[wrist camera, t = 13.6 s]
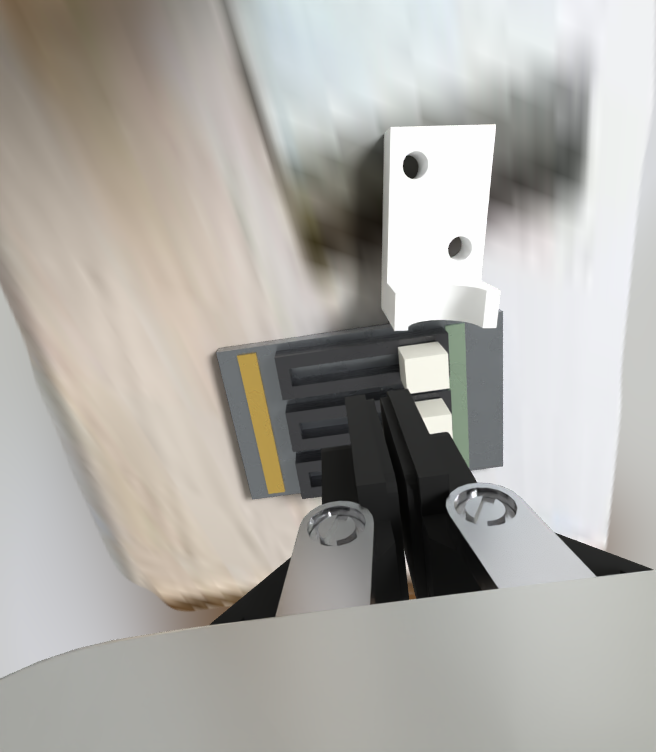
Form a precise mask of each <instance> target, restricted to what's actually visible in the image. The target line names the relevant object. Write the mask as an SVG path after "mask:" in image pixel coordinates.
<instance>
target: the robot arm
mask: <svg viewBox="0 0 656 752" xmlns="http://www.w3.org/2000/svg"><path fill="white" fill-rule="evenodd" d="M345 405H346V412H347V420H348V427H349V435H350V442H351V445H345V446H338V447H331V448H323V449H321V463H322V505H320V506H318V507H316V508H315V509H313V510H311V511H310V512H309V513H308V514H307V515H306V516H305V517H304V518H303V520H302V522H301V524H300V527H299V530H298V534H297V538H296V542H295V545H294V549H293V553H292V556H291V558H289V559H288V560H287V561H286V562H285V563H283V564H282V565H281V566H280V567H278V568H277V569H276V570H275V571H274V572H272V573H271V574H270V575H269V576H268V577H266V578H265V579H264V580H263V581H262V582H260V583H259V584H258V585H257V586H256V587H254V588H253V589H252V590H251V591H250V592H248V593H247V594H246V595H245V596H243V597H242V598H241V599H240V600H239V601H237V602H236V603H235V604H234V605H233V606H231V607H230V608H229V609H228V610H227V611H225V612H224V613H223V614H222V615H221V616H219V617H218V618H217V619H216V620H214V621H213V622H212V623H211V624H210V625H209V626H201V627H194V628H186V629H179V630H173V631H166V632H160V633H154V634H148V635H142V636H136V637H130V638H123V639H117V640H111V641H107V642H104V643H99V644H95V645H91V646H86V647H82V648H78V649H75V650H72V651H69V652H66V653H63V654H60V655H57V656H54V657H51V658H48V659H45V660H42V661H39V662H37V663H34V664H33V665H30V666H28V667H25V668H23V669H21V670H19V671H16V672H14V673H12V674H9V675H7V676H5V677H3V678H0V752H656V570H653V569H650V568H648V567H645V566H643V565H640V564H637V563H635V562H632V561H629V560H627V559H624V558H621V557H619V556H616V555H613V554H611V553H608V552H605V551H603V550H600V549H597V548H595V547H592V546H589V545H586V544H584V543H581V542H578V541H576V540H573V539H570V538H568V537H565V536H562V535H560V534H557V533H554V532H553V531H552V530H551V529H550V527H549V526H548V525H547V524H546V523H545V522H544V521H543V520H542V519H541V518H540V517H539V516H538V515H537V514H536V513H535V512H534V511H533V510H532V509H531V508H530V507H529V505H528V504H527V503H526V502H525V501H524V500H523V499H522V498H521V497H520V496H518V495H517V494H516V493H515V492H513V491H512V490H510V489H507V488H505V487H503V486H500V485H495V484H491V483H477V482H476V480H475V478H474V476H473V475H472V473H471V471H470V469H469V467H468V466H467V464H466V462H465V460H464V458H463V457H462V455H461V453H460V451H459V450H458V448H457V446H456V444H455V442H454V441H453V439H452V437H451V435H450V434H449V433H448V432H441V433H434V434H429V431H428V429H427V427H426V425H425V423H424V421H423V419H422V417H421V415H420V413H419V410H418V408H417V406H416V404H415V402H414V400H413V398H412V396H411V394H410V392H409V390H408V389H401V390H394V391H387V397H383V398H380V407H381V416H382V425H383V431H382V427H381V423H380V420H379V416H378V413H377V409H376V405H375V402H374V399H368V400H366V398H365V395H358V396H351V397H345ZM404 551H405V555H406V559H407V563H408V567H409V571H410V576H411V580H412V584H413V588H414V592H415V596H416V599H413V600H409V594H408V584H407V575H406V565H405V555H404Z"/></svg>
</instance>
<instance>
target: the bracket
mask: <svg viewBox="0 0 656 752" xmlns="http://www.w3.org/2000/svg"><path fill="white" fill-rule="evenodd" d="M495 130H496V124H495V125H457V126H418V127H390V128H389V129H388V130H387V131H386V132H385V133H384V171H383V227H382V283H381V308H382V310H383V312H384V313H385V315H386V317H387V319H388V320H389V322H390V324H391V326H392V327H393V329H394V331H407V330H408V326H410V325H411V324H413V323H417V322H421V321H429V320H453V321H462V322H467V323H472V324H475V325H478V326H480V327H482V328H496V327H497V318H498V310H499V301H500V292H501V290H499V289H497V288H495V287H493V286H491V285H489V284H487V283H485V282H483V281H481V274H482V263H483V253H484V243H485V233H486V222H487V212H488V202H489V191H490V181H491V171H492V161H493V150H494V140H495ZM407 155H410V156H413V157H414V158H415V159H416V160H417V162H418V166H419V169H418V173H417V175H416V176H415V177H414V178H413V179H410V178H408V177H407V176H406V175H405V173H404V171H403V161H404V159H405V157H406V156H407ZM456 237H460V239H461V242H462V246H461V249H460V251H459V253H458V254H456V255H455V256H452V257H450V256H449V254H448V246H449V244H450V242H451V241H452V240H453V239H454V238H456Z"/></svg>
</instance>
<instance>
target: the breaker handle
mask: <svg viewBox="0 0 656 752" xmlns="http://www.w3.org/2000/svg"><path fill="white" fill-rule="evenodd" d="M398 355H399V366H400V377H401V381H402V383H403V386H404V388H405V389H408V390H409V392H410V394H412V393H419V392H426V391H433V390H440V389H448V388H450V386H449V365H448V353H447V352H446V350H445V349H444V348H443V347H442V346H441V345H440V343H439V342H438V341H437V342H430V343H423V344H416V345H409V346H402V347H398Z"/></svg>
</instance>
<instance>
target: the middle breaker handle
mask: <svg viewBox="0 0 656 752" xmlns="http://www.w3.org/2000/svg"><path fill="white" fill-rule="evenodd" d="M415 404H416V406H417V408H418V410H419V413H420V415H421V417H422V419H423V421H424V423H425V425H426V427H427V429H428V431H429V434H434V433H441V432H448V433H449V434H450V435H451V437H452V439H453V433H452V414H451V412H450V411H449V409H448V407H447V406H446V404H445V403H444V401H443V399H442V398H439V399H432V400H425V401H418V402H415Z"/></svg>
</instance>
